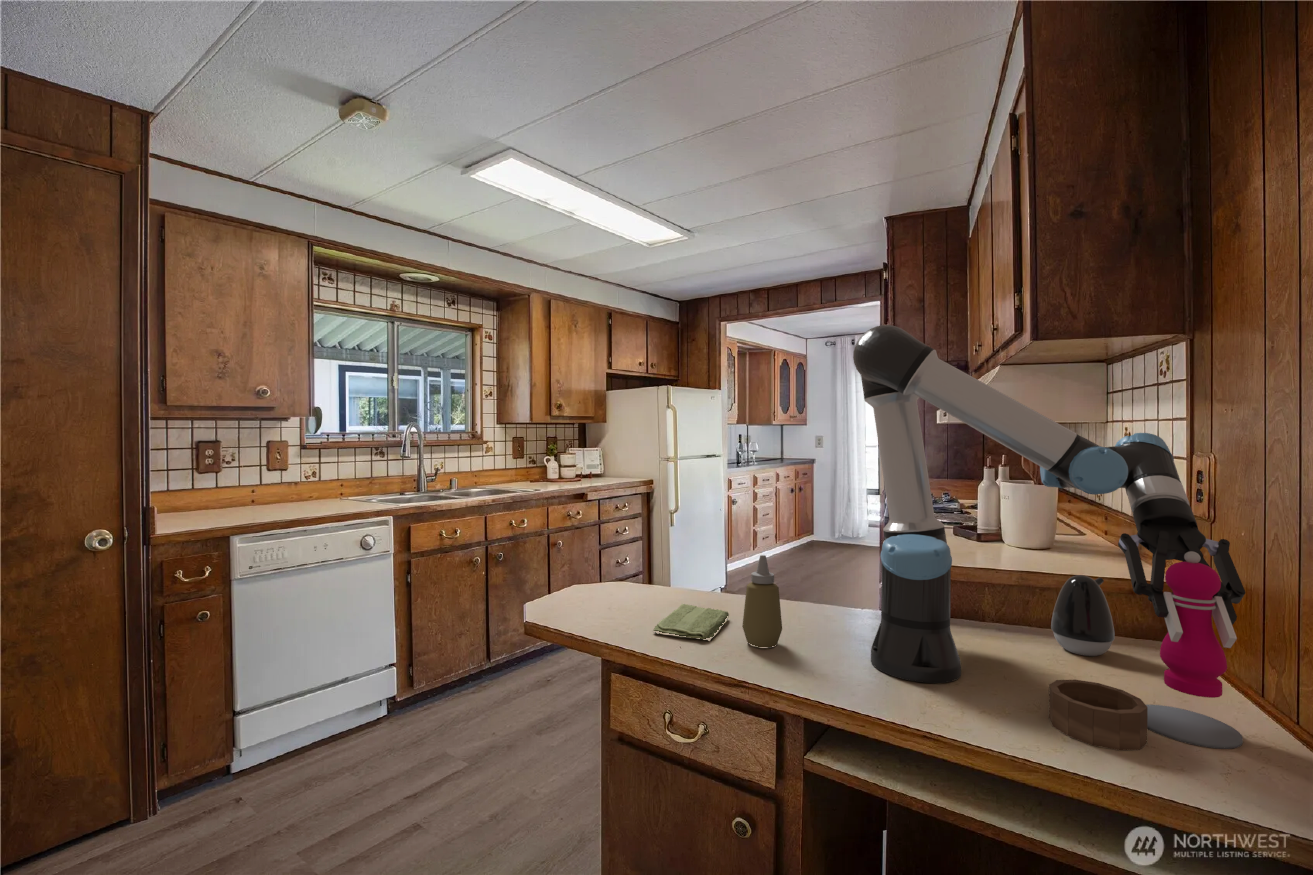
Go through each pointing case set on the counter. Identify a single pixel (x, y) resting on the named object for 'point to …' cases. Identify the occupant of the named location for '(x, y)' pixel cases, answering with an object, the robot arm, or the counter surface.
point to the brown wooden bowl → (1098, 714)
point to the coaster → (1192, 727)
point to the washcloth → (692, 622)
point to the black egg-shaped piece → (1083, 617)
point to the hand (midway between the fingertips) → (1203, 639)
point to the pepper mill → (1194, 630)
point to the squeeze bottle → (762, 608)
